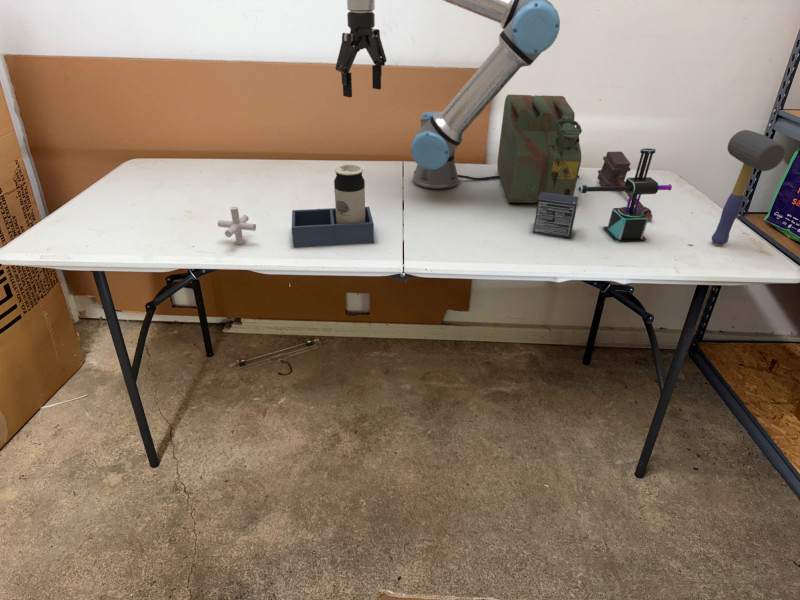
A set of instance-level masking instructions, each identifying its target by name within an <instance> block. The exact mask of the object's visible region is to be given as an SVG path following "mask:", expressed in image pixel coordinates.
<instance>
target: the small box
mask: <svg viewBox="0 0 800 600" xmlns="http://www.w3.org/2000/svg"><path fill="white" fill-rule="evenodd" d="M578 201H579V196H578V195H573V196H570V195H562V194H555V193H547V192H540V195H539V198H538V202H537V205H536V211H535V216H534V223H533V228H532V231H531V232H532V234H534V235H535V234H536V235H543V236H549V237H556V238H563V239H568V240H570V239H571V237H572V232H573V227H574V222H575V217H576V212H577V208H578V203H579V202H578Z"/></svg>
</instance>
